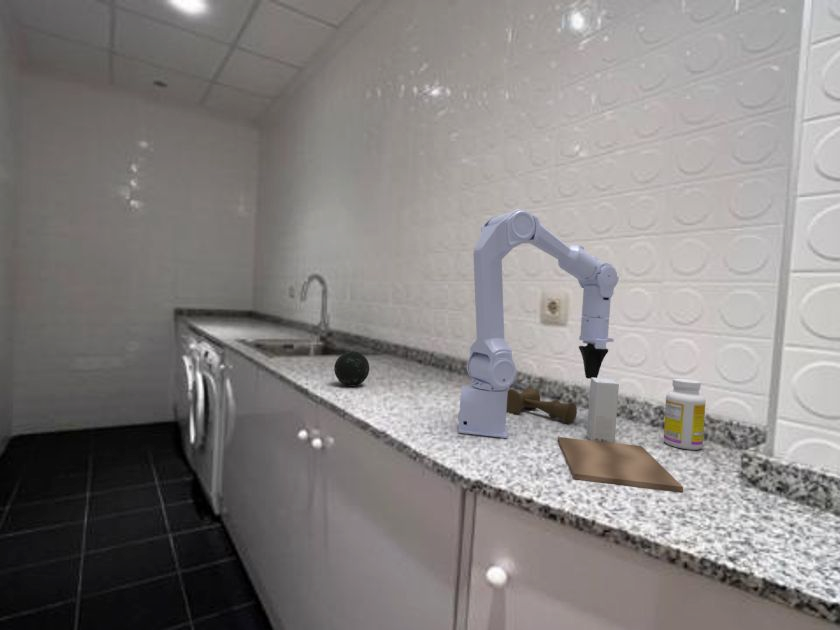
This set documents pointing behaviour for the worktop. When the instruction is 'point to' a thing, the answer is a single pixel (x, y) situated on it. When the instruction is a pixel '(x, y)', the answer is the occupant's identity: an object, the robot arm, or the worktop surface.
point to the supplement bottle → (684, 415)
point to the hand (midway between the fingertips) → (591, 378)
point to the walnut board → (615, 464)
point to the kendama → (540, 405)
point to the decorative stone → (351, 368)
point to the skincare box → (602, 410)
